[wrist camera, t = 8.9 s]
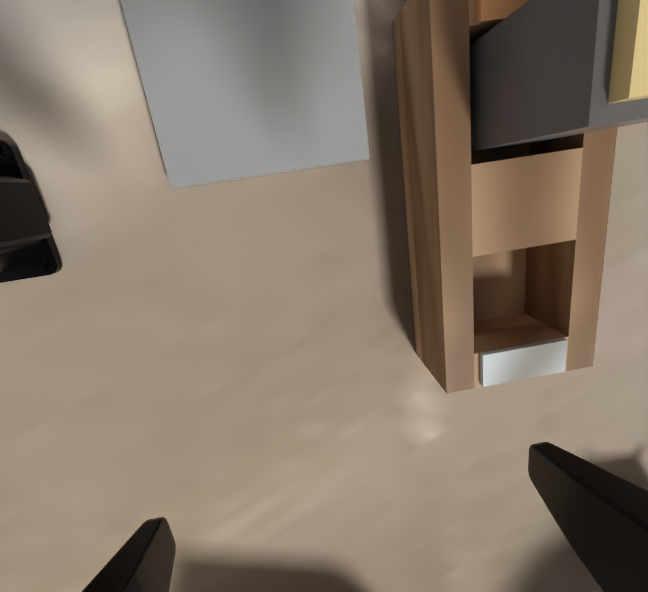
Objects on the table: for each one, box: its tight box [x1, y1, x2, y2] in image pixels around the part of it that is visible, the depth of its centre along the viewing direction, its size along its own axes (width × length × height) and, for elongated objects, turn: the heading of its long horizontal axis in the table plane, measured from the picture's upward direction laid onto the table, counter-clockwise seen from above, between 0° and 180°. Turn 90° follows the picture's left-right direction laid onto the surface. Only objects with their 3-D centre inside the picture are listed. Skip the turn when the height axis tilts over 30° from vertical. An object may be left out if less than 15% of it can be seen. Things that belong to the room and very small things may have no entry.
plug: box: [469, 0, 648, 152], centre depth 13 cm, size 4×4×10 cm
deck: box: [120, 0, 370, 189], centre depth 16 cm, size 10×10×1 cm
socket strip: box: [393, 0, 617, 393], centre depth 18 cm, size 8×18×5 cm, turn 9°
